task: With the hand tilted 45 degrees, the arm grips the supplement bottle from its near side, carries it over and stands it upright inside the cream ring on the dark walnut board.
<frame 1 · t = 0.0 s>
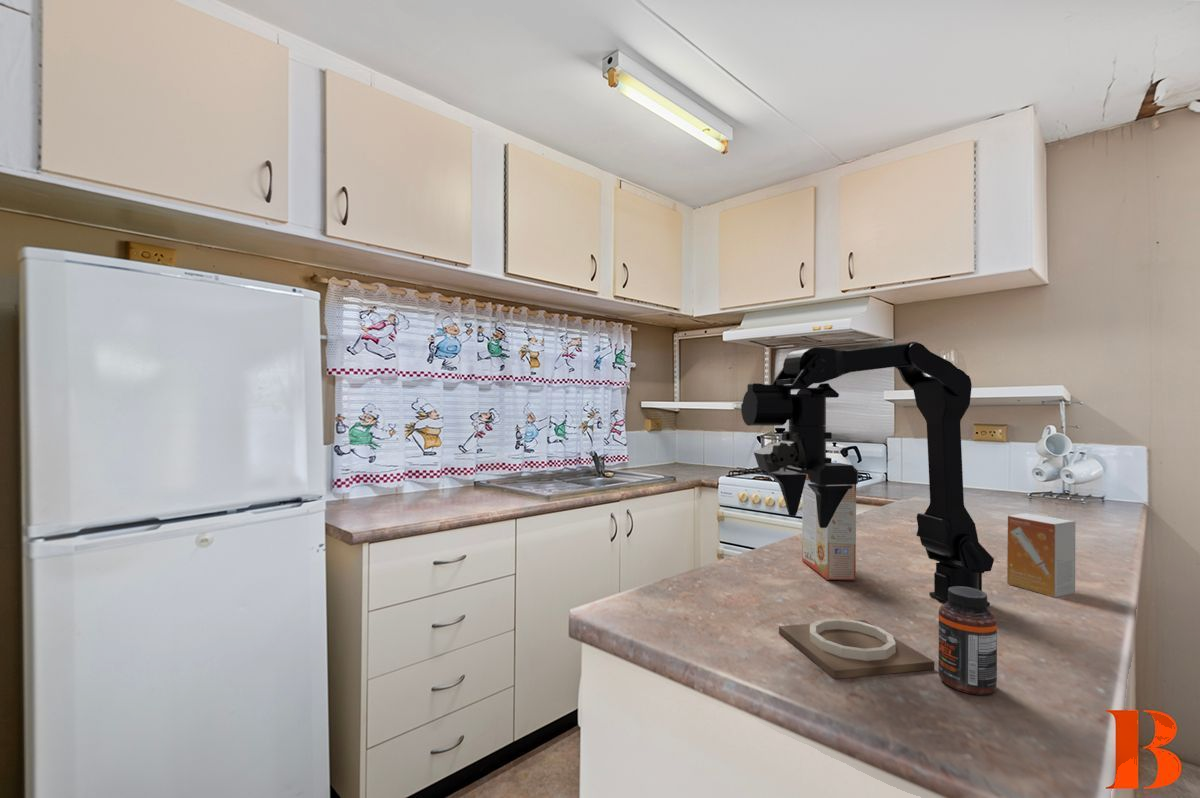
hand: (807, 521, 92), 15 cm above the counter, tool pointing down, fingers open, 9 cm apart
board: (851, 649, 77), on the counter
cracker box: (827, 571, 114), on the counter
collar: (851, 638, 77), on the board, point 1 cm above the counter
small box: (1040, 590, 103), on the counter
supplement bottle: (966, 686, 68), on the counter
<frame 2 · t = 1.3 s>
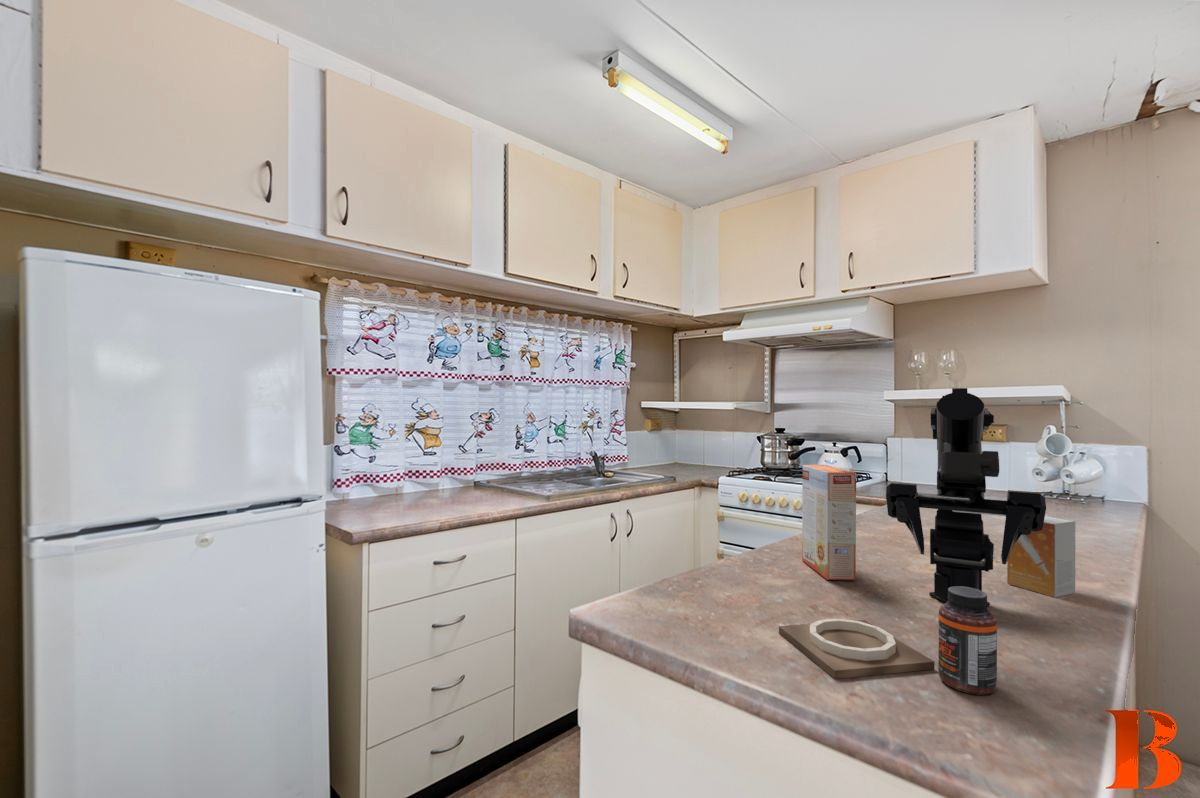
hand: (961, 557, 75), 13 cm above the counter, tool tilted 45°, fingers open, 9 cm apart
nothing on the counter moved.
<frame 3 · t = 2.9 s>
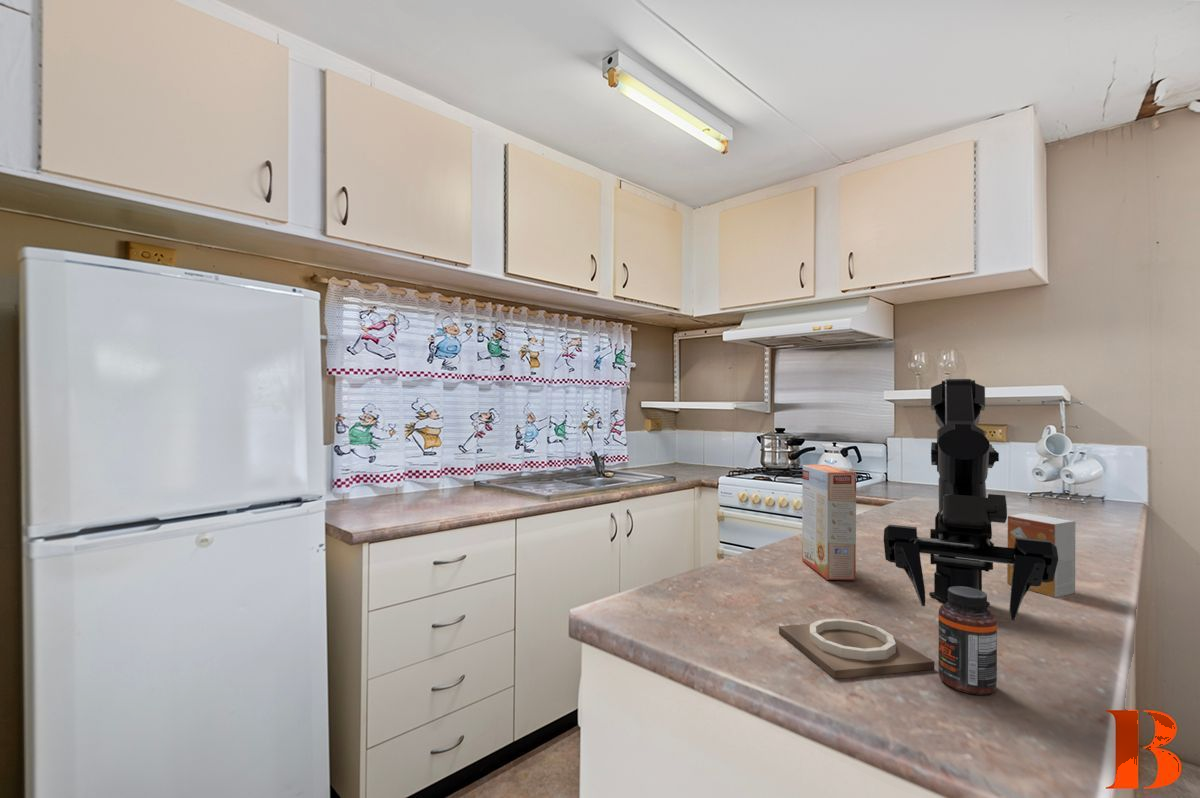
hand: (966, 611, 69), 9 cm above the counter, tool tilted 45°, fingers open, 9 cm apart
nothing on the counter moved.
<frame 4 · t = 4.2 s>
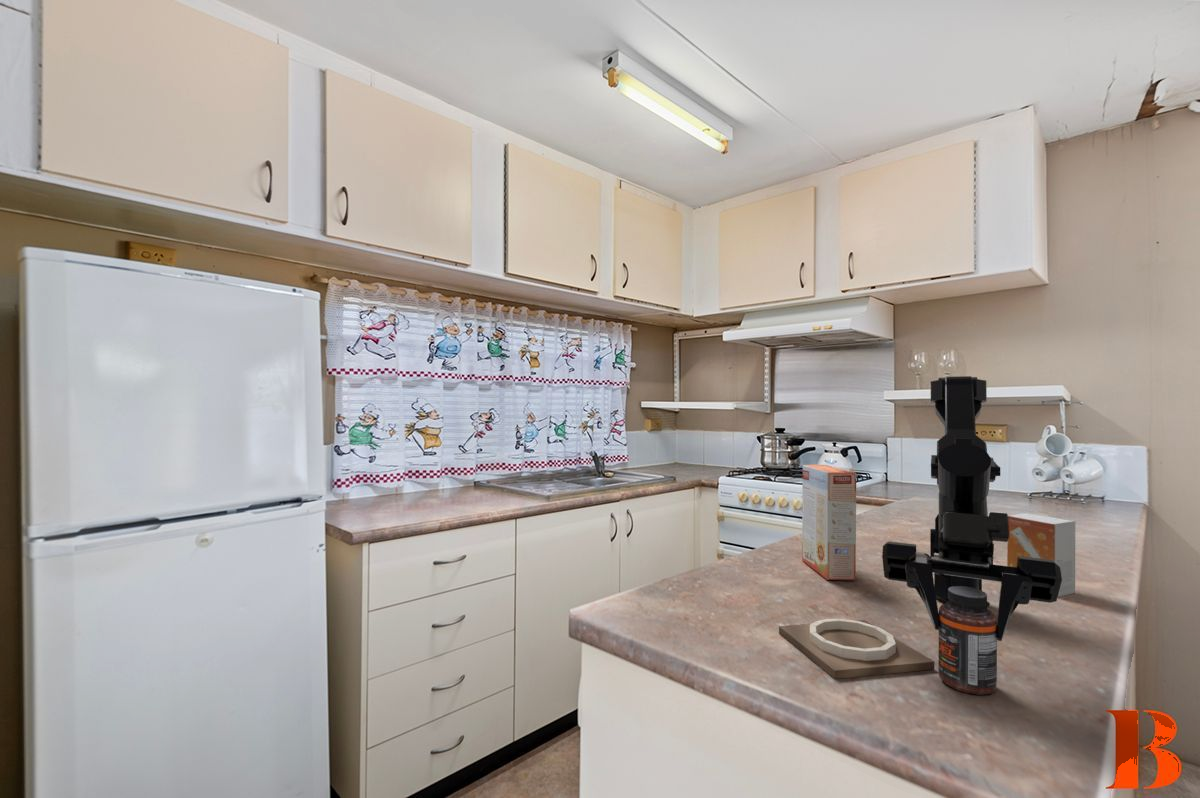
hand: (967, 633, 67), 7 cm above the counter, tool tilted 45°, fingers closed on supplement bottle, 6 cm apart
supplement bottle: (966, 685, 68), on the counter, touching gripper
everything else where it was.
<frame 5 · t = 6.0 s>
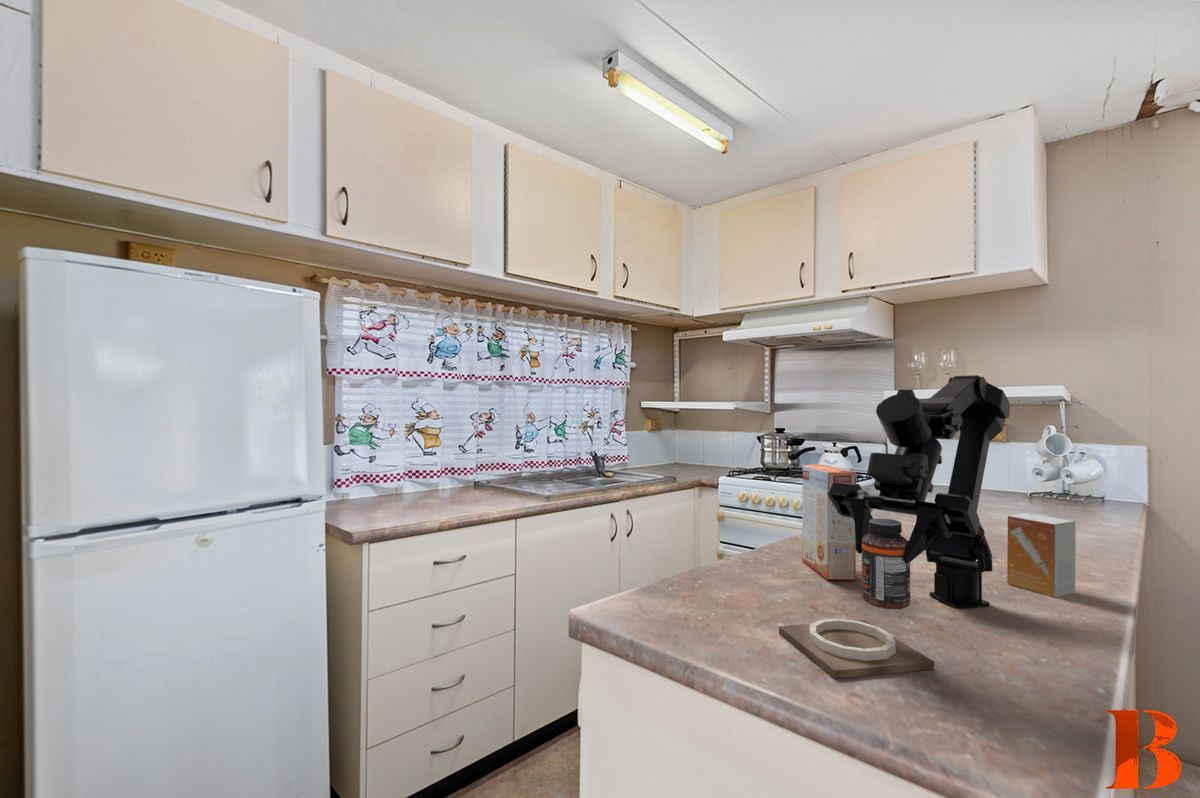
hand: (881, 556, 77), 13 cm above the counter, tool tilted 45°, fingers closed on supplement bottle, 6 cm apart
supplement bottle: (885, 604, 78), point 6 cm above the counter, touching gripper
everything else where it was.
when the fingers open (9 cm above the counter, at t = 8.2 s): supplement bottle stays where it is, resting on board.
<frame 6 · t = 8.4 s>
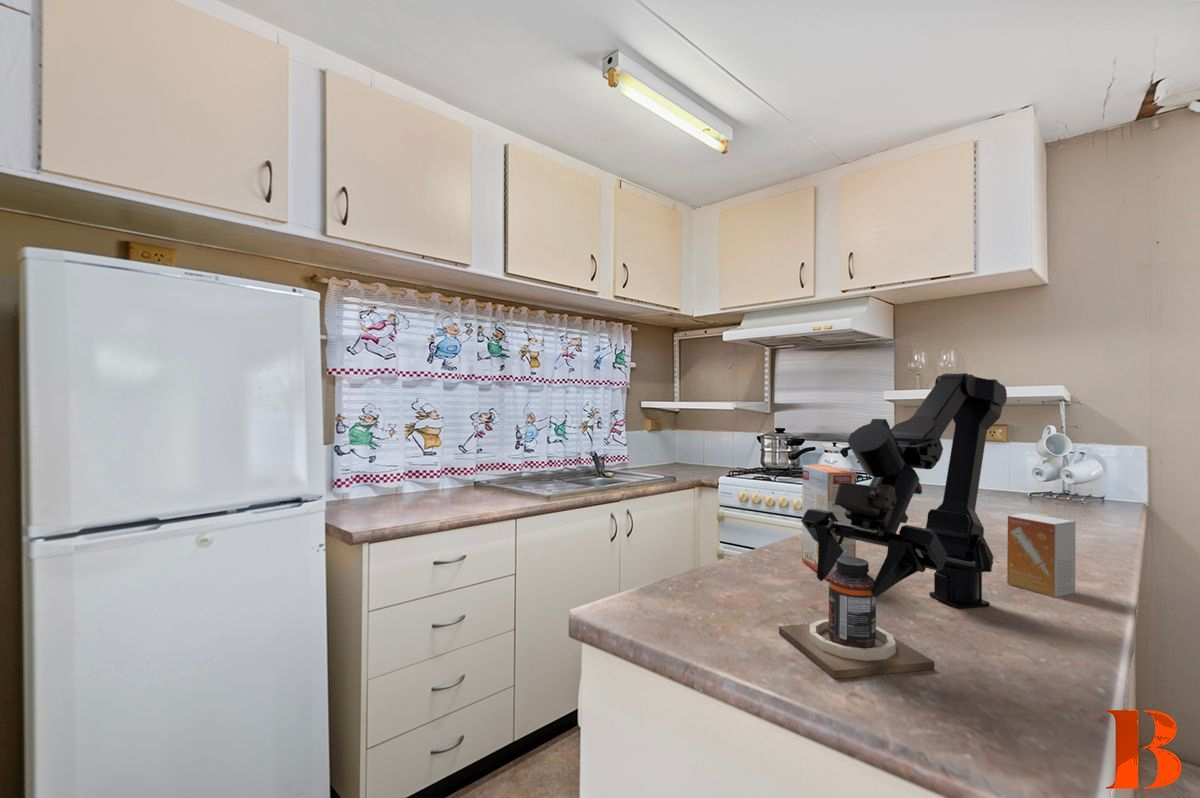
hand: (845, 586, 77), 9 cm above the counter, tool tilted 45°, fingers open, 8 cm apart
supplement bottle: (851, 643, 78), point 1 cm above the counter, touching board
everything else where it was.
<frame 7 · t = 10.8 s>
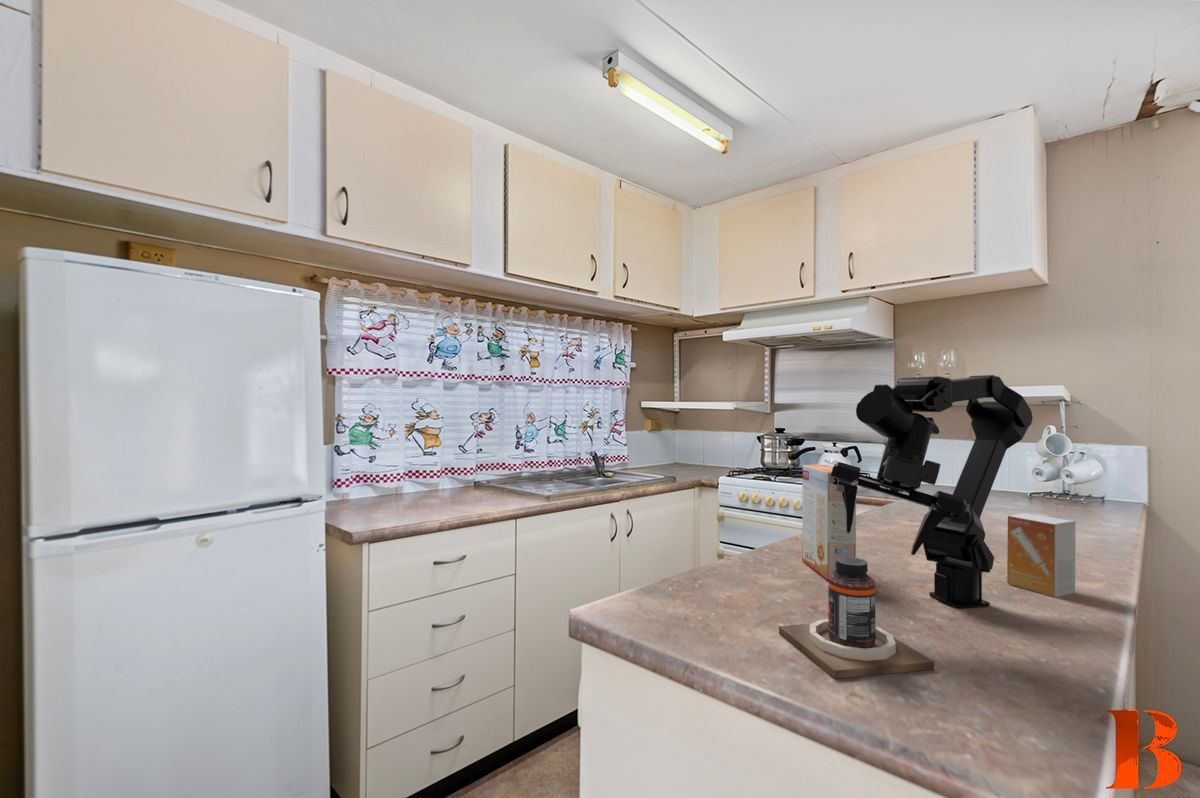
hand: (879, 543, 86), 12 cm above the counter, tool tilted 25°, fingers open, 9 cm apart
nothing on the counter moved.
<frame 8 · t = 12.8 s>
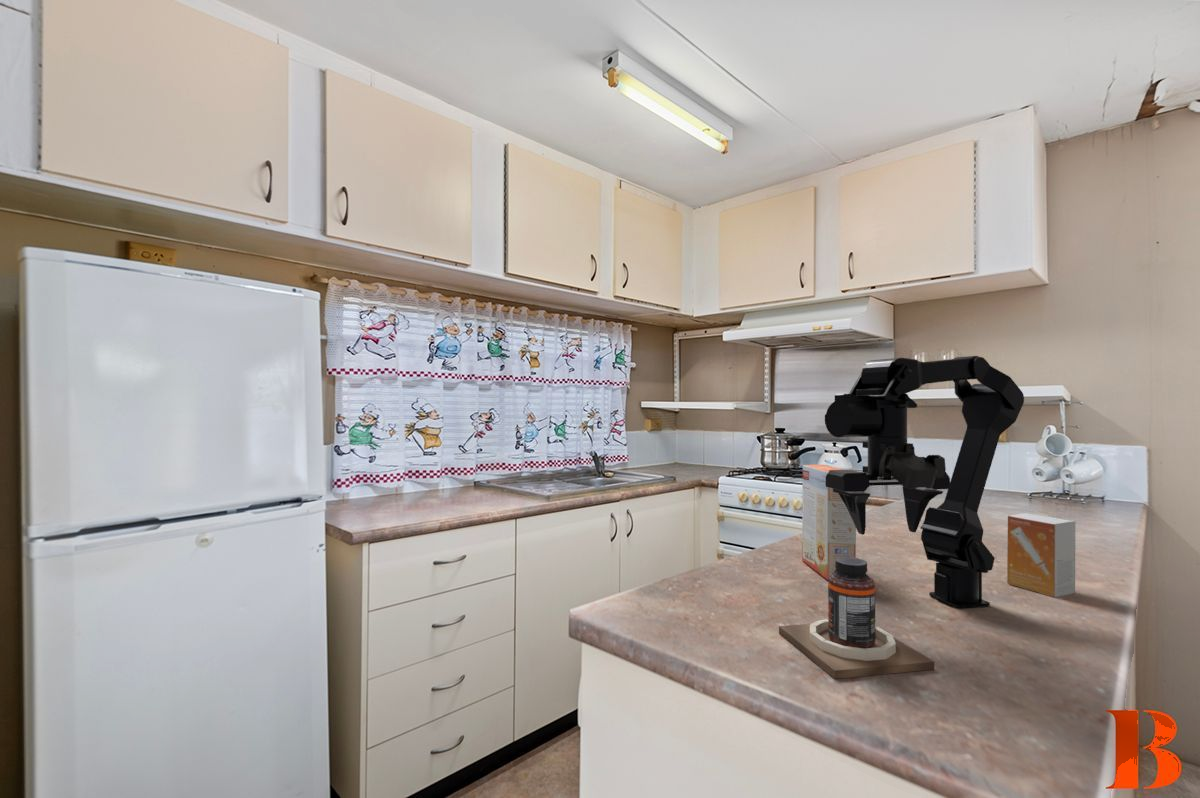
hand: (887, 533, 91), 13 cm above the counter, tool pointing down, fingers open, 9 cm apart
nothing on the counter moved.
at the end: supplement bottle 0.1 cm off-centre on the collar, point 0.8 cm above the collar's base; supplement bottle tilted 0°; the gripper is holding nothing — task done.
